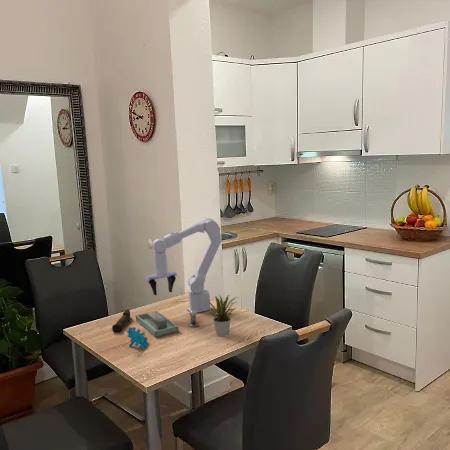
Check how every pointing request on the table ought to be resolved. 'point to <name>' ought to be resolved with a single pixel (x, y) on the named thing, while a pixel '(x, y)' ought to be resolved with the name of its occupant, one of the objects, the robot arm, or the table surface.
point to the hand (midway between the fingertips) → (162, 293)
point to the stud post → (193, 319)
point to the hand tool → (121, 322)
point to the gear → (137, 337)
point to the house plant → (222, 316)
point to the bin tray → (169, 330)
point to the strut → (156, 320)
